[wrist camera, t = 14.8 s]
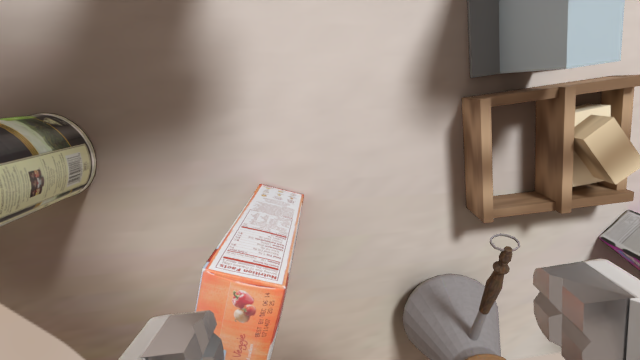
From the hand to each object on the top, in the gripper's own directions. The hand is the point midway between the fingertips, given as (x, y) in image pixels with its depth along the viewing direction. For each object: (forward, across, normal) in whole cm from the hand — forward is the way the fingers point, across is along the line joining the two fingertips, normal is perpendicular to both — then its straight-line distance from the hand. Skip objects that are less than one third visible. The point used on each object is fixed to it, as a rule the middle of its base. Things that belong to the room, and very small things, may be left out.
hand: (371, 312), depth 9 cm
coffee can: (+33, +34, -3) cm, 47 cm away
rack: (+33, -22, +4) cm, 40 cm away
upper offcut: (+30, -26, +5) cm, 40 cm away
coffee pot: (+33, -11, +19) cm, 39 cm away
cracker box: (+33, +10, +12) cm, 36 cm away
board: (+32, -20, -8) cm, 39 cm away
